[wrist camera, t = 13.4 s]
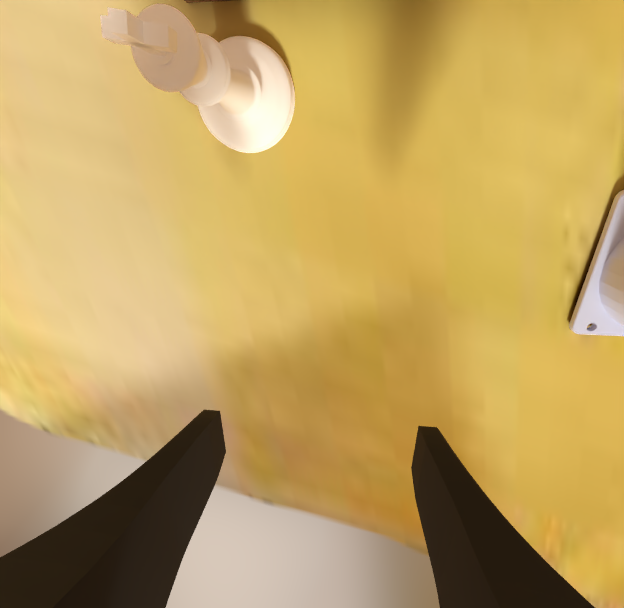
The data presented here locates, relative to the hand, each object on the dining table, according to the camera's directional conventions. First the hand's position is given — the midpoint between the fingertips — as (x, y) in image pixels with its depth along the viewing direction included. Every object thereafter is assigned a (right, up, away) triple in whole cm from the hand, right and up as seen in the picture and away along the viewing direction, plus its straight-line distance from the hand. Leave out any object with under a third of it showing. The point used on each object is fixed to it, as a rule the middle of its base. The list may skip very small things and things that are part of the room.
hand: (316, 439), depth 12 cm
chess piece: (-3, +15, +5) cm, 16 cm away
